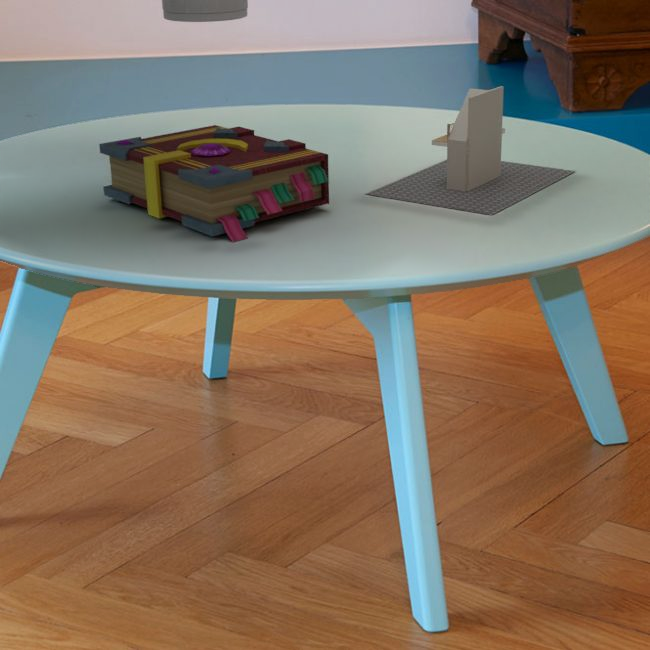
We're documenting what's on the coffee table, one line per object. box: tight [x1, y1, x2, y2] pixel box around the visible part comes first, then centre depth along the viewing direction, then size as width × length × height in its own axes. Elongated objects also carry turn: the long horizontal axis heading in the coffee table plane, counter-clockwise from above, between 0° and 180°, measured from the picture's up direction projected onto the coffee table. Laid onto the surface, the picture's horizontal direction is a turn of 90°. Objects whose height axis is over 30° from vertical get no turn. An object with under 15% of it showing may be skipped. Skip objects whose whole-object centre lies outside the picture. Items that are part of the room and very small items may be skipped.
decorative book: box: [98, 124, 330, 243], centre depth 87 cm, size 11×16×5 cm
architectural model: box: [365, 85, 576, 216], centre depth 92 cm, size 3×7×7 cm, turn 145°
